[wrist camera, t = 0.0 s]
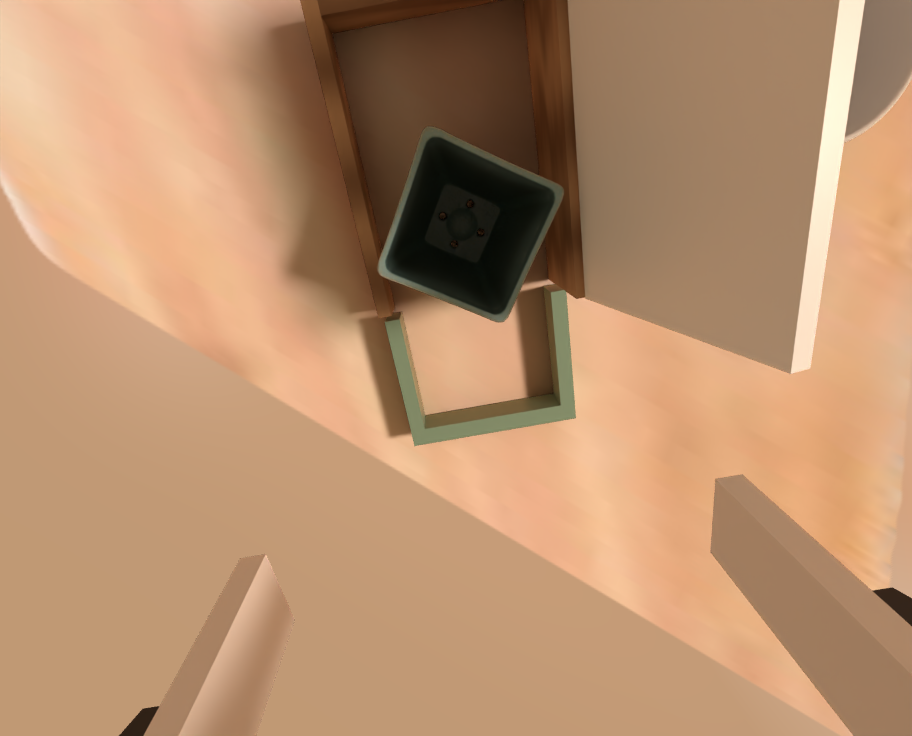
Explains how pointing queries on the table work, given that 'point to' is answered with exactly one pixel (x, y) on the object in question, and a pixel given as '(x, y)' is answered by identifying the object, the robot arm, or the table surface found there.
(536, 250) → the flower pot
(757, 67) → the lid
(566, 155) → the brown wooden box
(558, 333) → the potting tray
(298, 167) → the table surface
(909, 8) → the mug
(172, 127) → the table surface
